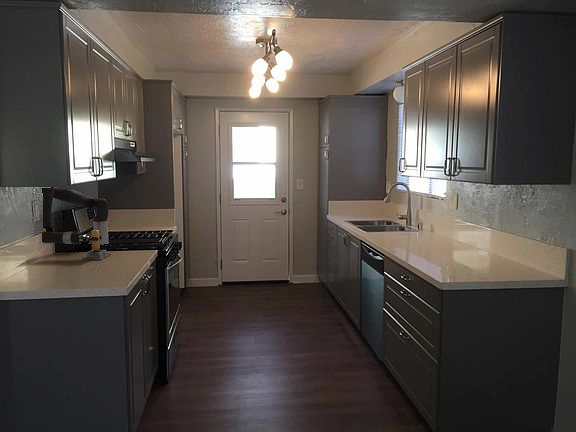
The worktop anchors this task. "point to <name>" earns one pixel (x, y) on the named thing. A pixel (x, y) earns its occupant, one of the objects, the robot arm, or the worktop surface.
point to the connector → (95, 243)
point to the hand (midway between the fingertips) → (99, 238)
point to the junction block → (96, 255)
